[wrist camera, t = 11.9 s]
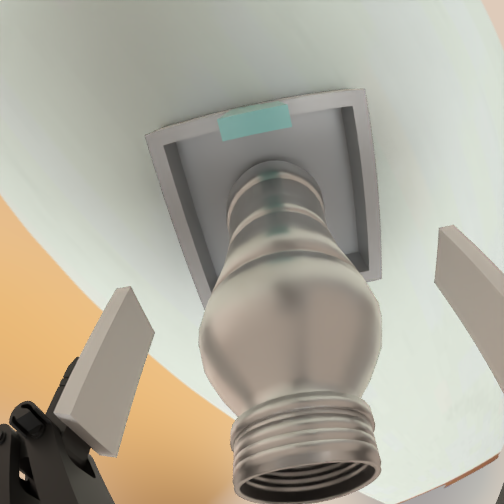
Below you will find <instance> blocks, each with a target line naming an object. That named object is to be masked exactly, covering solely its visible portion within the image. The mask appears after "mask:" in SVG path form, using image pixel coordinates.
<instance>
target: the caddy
mask: <svg viewBox="0 0 504 504" xmlns="http://www.w3.org/2000/svg"><path fill="white" fill-rule="evenodd" d="M145 138H146V142H147V145H148V148H149V152H150V155H151V158H152V161H153V165H154V168H155V171H156V174H157V177H158V180H159V184H160V187H161V190H162V193H163V196H164V199H165V202H166V205H167V208H168V211H169V214H170V217H171V220H172V223H173V226H174V229H175V231H176V234H177V237H178V240H179V243H180V246H181V248H182V251H183V254H184V257H185V260H186V262H187V265H188V268H189V270H190V273H191V276H192V279H193V281H194V284H195V286H196V289H197V292H198V294H199V297H200V300H201V302H202V305H203V307H204V310H205V309H206V306H207V303H208V300H209V298H210V296H211V294H212V291H213V289H214V287H215V285H216V282H217V280H218V278H219V276H220V273H221V271H222V269H223V267H224V263H225V259H226V255H227V252H228V247H229V231H228V228H227V220H226V203H227V198H228V195H229V193H230V190H231V189H232V187H233V185H234V184H235V182H236V181H237V180H238V179H239V178H240V177H241V176H242V175H243V174H244V173H245V172H246V171H247V170H249V169H250V168H251V167H253V166H255V165H257V164H259V163H263V162H267V161H276V160H278V161H286V162H289V163H292V164H295V165H297V166H299V167H300V168H302V169H304V170H305V171H307V172H308V173H309V174H310V175H311V176H312V177H313V178H314V179H315V181H316V182H317V184H318V185H319V188H320V190H321V193H322V196H323V202H324V208H325V219H326V223H327V227H328V229H329V231H330V233H331V235H332V236H333V238H334V240H335V241H336V243H337V245H338V247H339V248H340V249H341V250H342V252H343V253H344V254H345V255H346V257H347V258H348V259H349V260H350V261H351V263H352V264H353V265H354V266H355V268H356V269H357V270H358V271H359V273H360V274H361V275H362V276H363V278H364V279H365V281H366V282H370V281H375V280H379V279H382V260H381V228H380V210H379V196H378V183H377V173H376V163H375V154H374V145H373V137H372V130H371V123H370V116H369V110H368V104H367V98H366V92H365V89H341V90H333V91H325V92H318V93H311V94H305V95H299V96H293V97H287V98H281V99H276V100H270V101H265V102H260V103H256V104H251V105H246V106H242V107H237V108H233V109H229V110H225V111H221V112H217V113H213V114H209V115H205V116H201V117H197V118H194V119H190V120H187V121H183V122H180V123H176V124H173V125H170V126H166V127H163V128H160V129H158V130H156V131H153V132H151V133H149V134H147V135H145Z"/></svg>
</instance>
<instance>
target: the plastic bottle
mask: <svg viewBox="0 0 504 504" xmlns="http://www.w3.org/2000/svg"><path fill="white" fill-rule="evenodd" d="M226 220H227V228H228V231H229V247H228V252H227V255H226V259H225V263H224V267H223V269H222V271H221V273H220V276H219V278H218V280H217V282H216V285H215V287H214V289H213V291H212V294H211V296H210V298H209V300H208V303H207V306H206V309H205V312H204V315H203V318H202V322H201V325H200V328H199V340H198V343H199V348H200V353H201V358H202V363H203V367H204V371H205V374H206V376H207V378H208V380H209V381H210V383H211V385H212V386H213V387H214V389H215V390H216V392H217V393H218V395H219V396H220V398H221V399H222V400H223V402H224V403H225V404H226V405H227V406H228V407H229V408H230V409H231V410H232V411H233V412H234V413H235V414H236V415H237V416H238V418H237V419H236V420H235V422H234V423H233V425H232V429H231V441H230V445H231V449H232V451H233V452H234V464H233V484H234V490H235V493H236V494H237V495H238V496H239V497H241V498H243V499H246V500H248V501H251V502H255V503H260V504H312V503H318V502H323V501H328V500H332V499H335V498H339V497H342V496H345V495H348V494H350V493H353V492H355V491H357V490H360V489H362V488H364V487H365V486H367V485H369V484H370V483H372V482H373V481H374V480H375V479H376V478H377V477H378V476H379V475H380V473H381V467H380V465H381V460H380V456H379V452H378V448H377V444H376V441H375V437H374V433H373V432H374V430H375V422H374V418H373V415H372V411H371V409H370V406H369V405H368V404H367V403H366V402H365V401H364V400H363V399H361V397H362V395H363V393H364V391H365V390H366V388H367V386H368V384H369V382H370V380H371V377H372V374H373V372H374V369H375V366H376V363H377V360H378V357H379V354H380V351H381V347H382V315H381V311H380V307H379V303H378V301H377V299H376V297H375V296H374V294H373V292H372V291H371V289H370V287H369V286H368V284H367V283H366V281H365V279H364V278H363V276H362V275H361V274H360V273H359V271H358V270H357V269H356V268H355V266H354V265H353V264H352V263H351V261H350V260H349V259H348V258H347V257H346V255H345V254H344V253H343V252H342V250H341V249H340V248H339V247H338V245H337V243H336V241H335V240H334V238H333V236H332V235H331V233H330V231H329V229H328V227H327V223H326V219H325V208H324V202H323V196H322V193H321V190H320V188H319V185H318V184H317V182H316V181H315V179H314V178H313V177H312V176H311V175H310V174H309V173H308V172H307V171H305V170H304V169H302V168H300V167H299V166H297V165H295V164H292V163H289V162H286V161H278V160H276V161H267V162H263V163H259V164H257V165H255V166H253V167H251V168H250V169H249V170H247V171H246V172H245V173H244V174H243V175H242V176H241V177H240V178H239V179H238V180H237V181H236V182H235V184H234V185H233V187H232V189H231V190H230V193H229V195H228V198H227V203H226Z"/></svg>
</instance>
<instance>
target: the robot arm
mask: <svg viewBox="0 0 504 504" xmlns="http://www.w3.org/2000/svg"><path fill="white" fill-rule="evenodd" d="M434 283H435V284H436V285H437V287H438V288H439V290H440V291H441V292H442V294H443V295H444V297H445V298H446V300H447V301H448V302H449V304H450V305H451V307H452V308H453V310H454V311H455V313H456V314H457V316H458V317H459V319H460V320H461V322H462V323H463V325H464V327H465V328H466V330H467V331H468V333H469V334H470V336H471V338H472V339H473V341H474V342H475V344H476V346H477V347H478V349H479V351H480V352H481V354H482V356H483V357H484V359H485V361H486V362H487V364H488V366H489V368H490V369H491V371H492V373H493V375H494V377H495V378H496V380H497V382H498V384H499V386H500V388H501V389H502V391H503V393H504V274H503V273H502V272H501V270H500V269H499V268H498V267H497V266H496V265H495V264H494V263H493V262H492V261H491V260H490V259H489V258H488V257H487V256H486V255H485V254H484V253H483V252H482V251H481V250H480V249H479V248H478V247H477V246H476V245H475V244H474V243H473V242H471V241H470V240H469V239H468V238H467V237H466V236H465V235H464V234H463V233H462V232H461V231H460V230H459V229H457V228H456V227H455V226H454V225H451V226H446V227H441V228H439V236H438V250H437V261H436V271H435V280H434ZM154 334H155V332H154V330H153V329H152V327H151V325H150V323H149V321H148V319H147V317H146V315H145V313H144V311H143V310H142V308H141V306H140V304H139V302H138V300H137V298H136V296H135V294H134V292H133V290H132V288H131V286H129V287H123V288H117V289H116V290H115V292H114V294H113V295H112V297H111V299H110V301H109V302H108V304H107V306H106V308H105V310H104V311H103V313H102V315H101V317H100V319H99V321H98V322H97V324H96V326H95V328H94V330H93V332H92V334H91V335H90V338H89V339H88V341H87V343H86V345H85V347H84V349H83V351H82V353H81V355H80V357H76V358H75V359H74V361H73V362H72V363H71V364H70V365H69V366H68V368H67V370H66V372H65V374H64V376H63V377H64V379H62V380H61V382H60V387H58V389H57V391H56V393H55V395H54V397H53V400H52V401H51V404H50V406H49V408H48V410H47V412H46V415H45V414H44V413H43V412H42V411H41V410H40V409H39V408H38V407H37V406H36V405H35V404H34V403H33V402H31V401H25V402H22V403H20V404H19V405H18V406H17V407H15V409H14V410H13V412H12V413H11V416H10V421H9V423H10V425H11V426H12V427H13V428H15V429H16V430H17V431H16V432H15V431H14V430H13V429H12V428H11V427H10V426H9V425H7V424H1V425H0V504H115V503H114V501H113V499H112V497H111V495H110V493H109V492H108V490H107V487H106V485H105V483H104V481H103V479H102V477H101V475H100V473H99V471H98V468H97V466H96V464H95V462H94V460H93V458H92V457H91V455H89V451H90V448H92V449H93V450H94V451H96V452H97V453H98V454H99V455H103V456H110V457H117V454H118V451H119V447H120V443H121V440H122V436H123V433H124V429H125V426H126V422H127V418H128V415H129V412H130V408H131V405H132V402H133V399H134V395H135V392H136V389H137V385H138V382H139V379H140V376H141V373H142V370H143V367H144V364H145V361H146V358H147V355H148V352H149V349H150V346H151V343H152V340H153V337H154ZM19 471H21V472H22V473H23V474H25V480H23V479H21V478H20V477H19ZM496 504H504V484H503V486H502V489H501V492H500V495H499V497H498V500H497V502H496Z"/></svg>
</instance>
